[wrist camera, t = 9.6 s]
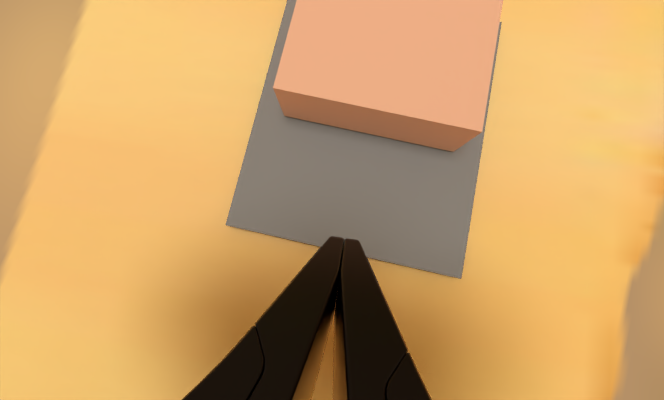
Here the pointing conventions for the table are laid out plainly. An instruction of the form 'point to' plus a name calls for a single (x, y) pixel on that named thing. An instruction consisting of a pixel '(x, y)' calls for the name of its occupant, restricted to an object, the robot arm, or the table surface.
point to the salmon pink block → (391, 67)
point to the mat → (355, 185)
